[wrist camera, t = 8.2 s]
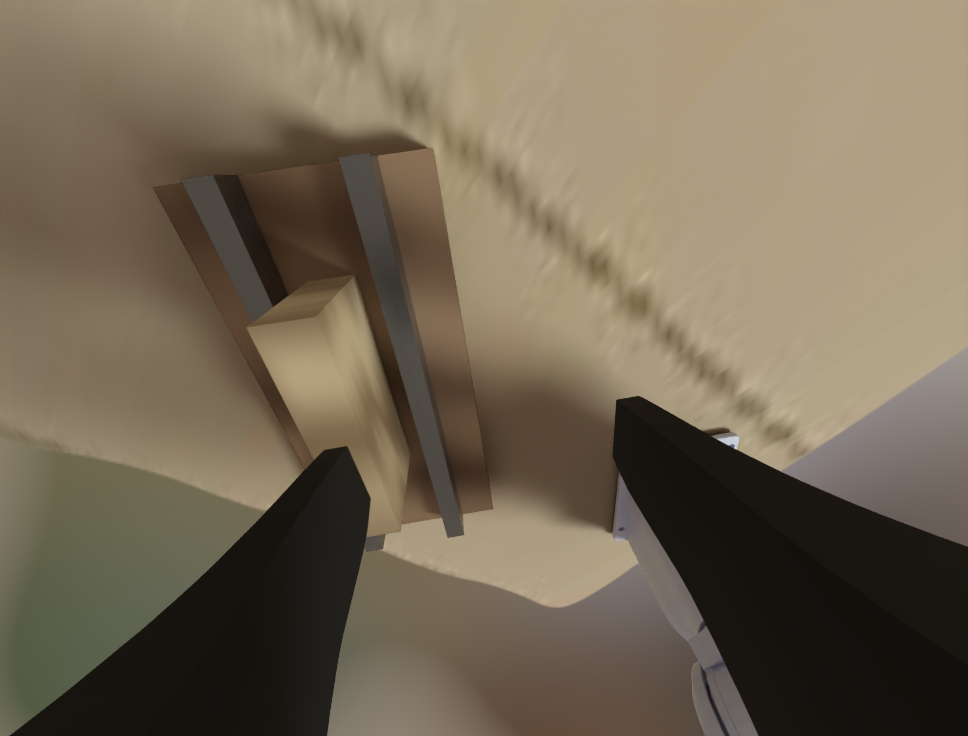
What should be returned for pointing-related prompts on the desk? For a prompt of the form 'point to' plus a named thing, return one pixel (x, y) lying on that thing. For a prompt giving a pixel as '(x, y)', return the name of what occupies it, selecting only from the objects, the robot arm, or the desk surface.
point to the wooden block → (339, 387)
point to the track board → (383, 284)
